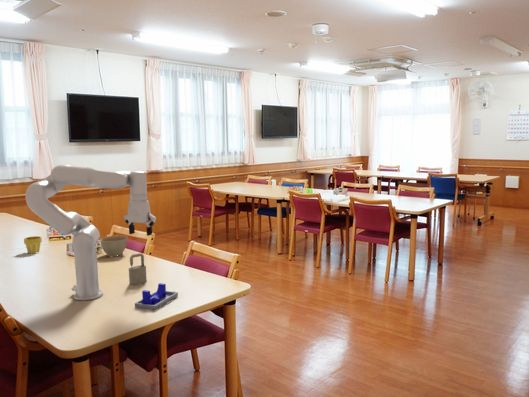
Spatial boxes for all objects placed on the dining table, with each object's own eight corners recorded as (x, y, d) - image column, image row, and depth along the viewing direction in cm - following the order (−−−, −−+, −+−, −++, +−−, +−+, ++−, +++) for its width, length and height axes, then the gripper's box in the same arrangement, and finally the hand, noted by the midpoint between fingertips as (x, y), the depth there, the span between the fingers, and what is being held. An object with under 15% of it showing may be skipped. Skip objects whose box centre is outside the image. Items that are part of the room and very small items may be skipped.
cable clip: (150, 305, 194) (150, 292, 193) (142, 304, 196) (142, 290, 195) (168, 297, 204) (168, 284, 204) (160, 295, 207) (160, 283, 206)
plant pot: (45, 251, 295) (44, 237, 294) (30, 255, 286) (29, 240, 285) (36, 249, 301) (35, 235, 299) (21, 253, 292) (20, 238, 291)
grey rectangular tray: (134, 307, 194) (134, 303, 193) (159, 294, 210) (158, 289, 210) (154, 310, 190) (154, 306, 190) (177, 296, 207) (177, 292, 206)
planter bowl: (101, 253, 289) (100, 236, 288) (127, 251, 294) (126, 234, 292) (100, 259, 274) (99, 242, 272) (128, 257, 279) (127, 239, 277)
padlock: (128, 283, 226) (127, 254, 224) (143, 280, 232) (142, 251, 230) (132, 285, 223) (130, 256, 221) (147, 281, 229) (146, 253, 227)
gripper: (118, 198, 206) (120, 234, 208) (149, 199, 200) (151, 237, 202) (128, 196, 213) (130, 231, 215) (159, 197, 207) (161, 234, 209)
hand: (140, 234), depth 208 cm, fingers open, 9 cm apart
